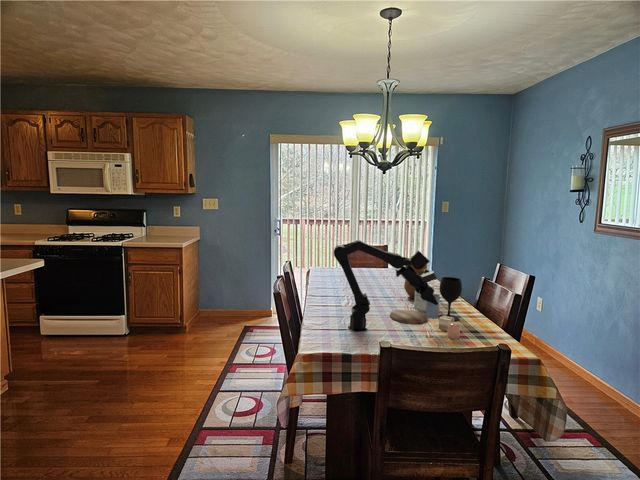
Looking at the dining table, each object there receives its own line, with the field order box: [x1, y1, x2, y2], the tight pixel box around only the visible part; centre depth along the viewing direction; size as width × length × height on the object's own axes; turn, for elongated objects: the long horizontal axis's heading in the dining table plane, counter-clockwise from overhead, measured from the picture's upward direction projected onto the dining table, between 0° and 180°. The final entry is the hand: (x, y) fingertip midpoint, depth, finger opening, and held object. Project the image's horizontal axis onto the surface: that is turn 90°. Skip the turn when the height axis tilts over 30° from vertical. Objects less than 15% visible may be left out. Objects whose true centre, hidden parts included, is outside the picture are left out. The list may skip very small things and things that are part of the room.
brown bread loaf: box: [389, 309, 428, 325], centre depth 192 cm, size 18×18×1 cm
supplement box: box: [413, 284, 435, 312], centre depth 208 cm, size 7×7×13 cm
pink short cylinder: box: [446, 321, 461, 340], centre depth 166 cm, size 5×5×6 cm
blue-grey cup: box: [424, 292, 441, 320], centre depth 172 cm, size 6×6×10 cm
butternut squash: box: [403, 255, 428, 300], centre depth 227 cm, size 14×13×25 cm
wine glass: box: [437, 276, 463, 323], centre depth 192 cm, size 10×10×20 cm
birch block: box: [438, 316, 454, 331], centre depth 178 cm, size 5×5×5 cm
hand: (435, 302), depth 172 cm, fingers closed on blue-grey cup, 6 cm apart
